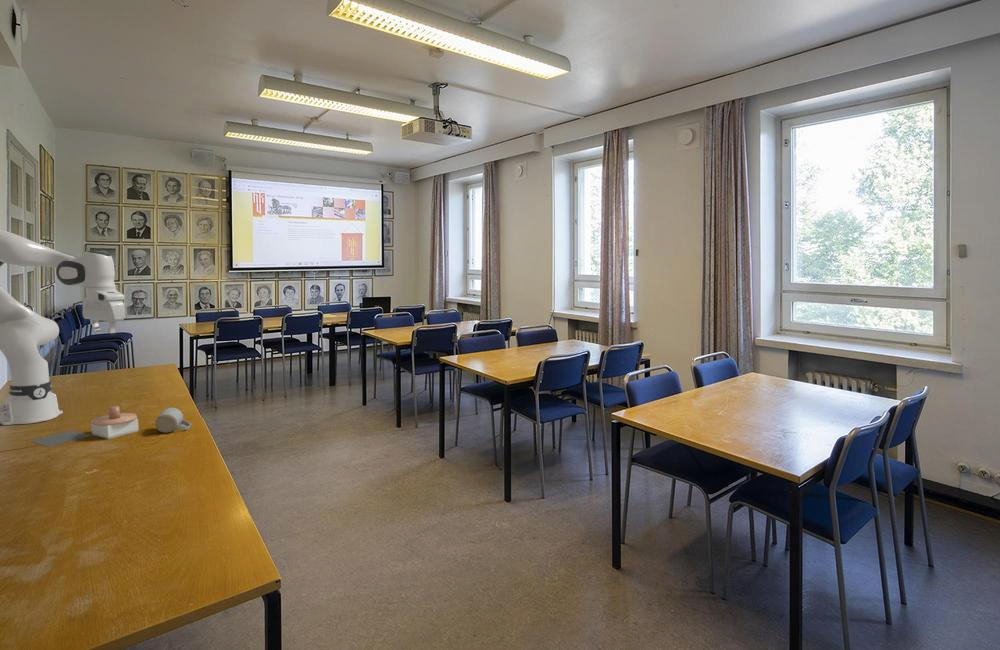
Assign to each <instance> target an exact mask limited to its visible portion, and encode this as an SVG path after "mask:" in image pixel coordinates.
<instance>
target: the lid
mask: <svg viewBox="0 0 1000 650" xmlns="http://www.w3.org/2000/svg"><path fill="white" fill-rule="evenodd" d="M137 415H138V414H136V413H132V412H121V409H120V406H119V405H112V406H109V407H108V414H106V415H101V416H97V417H94V418H93V419H92V420H91V422H92V424H93V425H98V426H107V425H117V424H122V423H127V422H130V421H133V420H135V419H136V418H138V417H137Z"/></svg>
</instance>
